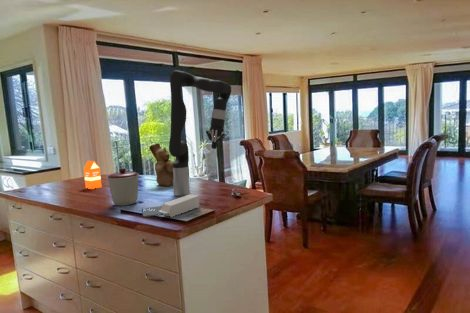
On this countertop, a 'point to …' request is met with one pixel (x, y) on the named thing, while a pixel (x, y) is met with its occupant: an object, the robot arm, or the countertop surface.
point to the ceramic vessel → (162, 165)
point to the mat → (152, 213)
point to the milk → (180, 205)
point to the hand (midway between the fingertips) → (213, 148)
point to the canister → (123, 187)
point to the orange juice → (92, 175)
